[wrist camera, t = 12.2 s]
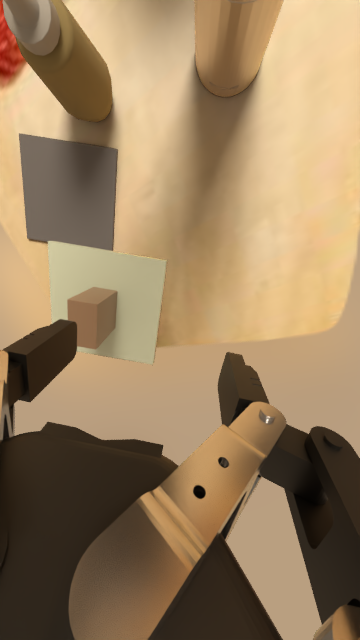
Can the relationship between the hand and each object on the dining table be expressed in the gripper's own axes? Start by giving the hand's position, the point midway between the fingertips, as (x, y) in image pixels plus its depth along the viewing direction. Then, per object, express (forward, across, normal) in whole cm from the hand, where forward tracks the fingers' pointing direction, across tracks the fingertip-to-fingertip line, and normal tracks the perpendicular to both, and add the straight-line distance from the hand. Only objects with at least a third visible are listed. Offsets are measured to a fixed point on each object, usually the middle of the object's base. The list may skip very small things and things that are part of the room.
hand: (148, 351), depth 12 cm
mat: (+32, +22, -8) cm, 40 cm away
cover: (+17, +8, +5) cm, 20 cm away
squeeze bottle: (+33, +18, -22) cm, 43 cm away
